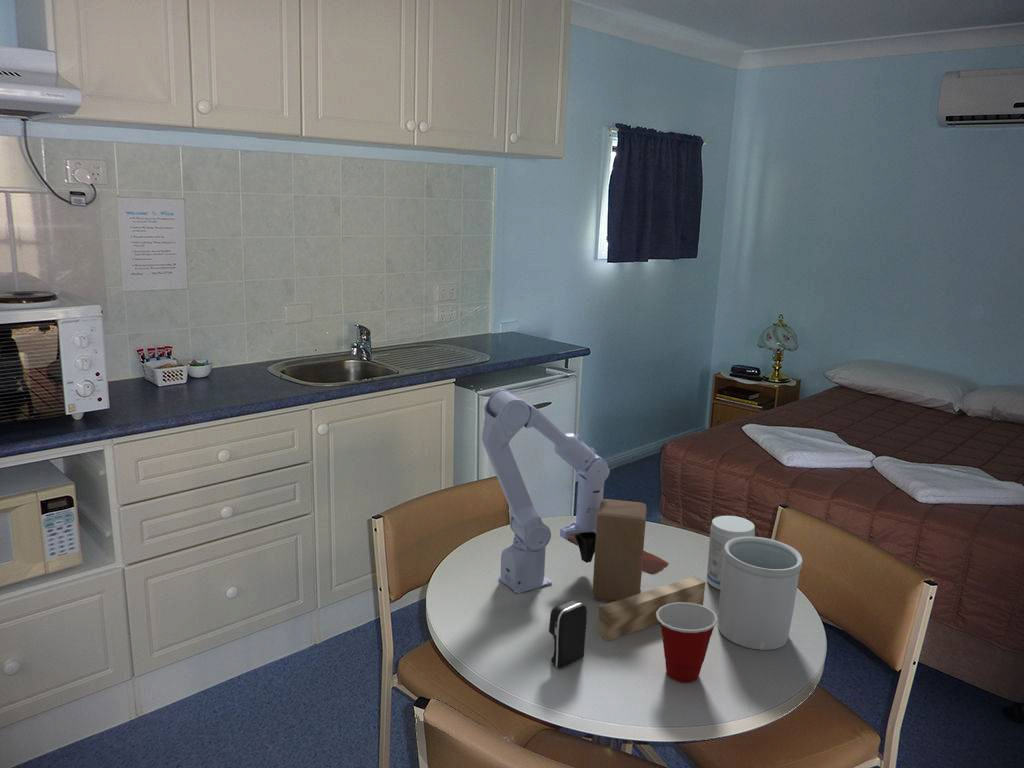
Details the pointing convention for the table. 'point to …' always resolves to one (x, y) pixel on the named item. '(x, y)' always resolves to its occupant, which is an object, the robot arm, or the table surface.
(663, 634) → the plastic cup
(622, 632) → the board
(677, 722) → the table surface
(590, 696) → the table surface
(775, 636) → the utensil holder
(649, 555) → the wooden tablet
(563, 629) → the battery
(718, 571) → the supplement tub
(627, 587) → the block
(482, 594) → the table surface
